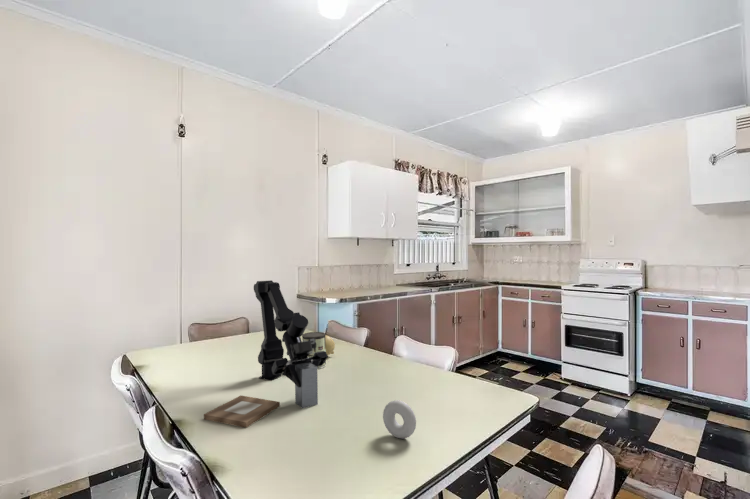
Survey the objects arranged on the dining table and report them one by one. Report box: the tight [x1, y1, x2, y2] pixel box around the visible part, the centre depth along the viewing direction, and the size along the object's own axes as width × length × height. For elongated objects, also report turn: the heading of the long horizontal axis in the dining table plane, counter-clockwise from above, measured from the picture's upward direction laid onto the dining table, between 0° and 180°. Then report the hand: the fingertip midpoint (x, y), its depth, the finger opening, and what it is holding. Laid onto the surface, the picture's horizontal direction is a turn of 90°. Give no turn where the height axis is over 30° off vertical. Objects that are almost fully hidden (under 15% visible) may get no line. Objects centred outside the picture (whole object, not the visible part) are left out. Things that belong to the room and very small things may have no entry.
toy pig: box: [325, 335, 336, 356], centre depth 183 cm, size 10×12×11 cm
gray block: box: [294, 363, 319, 409], centre depth 126 cm, size 6×6×12 cm
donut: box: [382, 399, 417, 440], centre depth 102 cm, size 10×4×10 cm, turn 55°
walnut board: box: [203, 395, 281, 429], centre depth 119 cm, size 16×16×2 cm
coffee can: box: [301, 331, 327, 370], centre depth 167 cm, size 10×10×14 cm
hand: (308, 385), depth 125 cm, fingers closed on gray block, 5 cm apart
